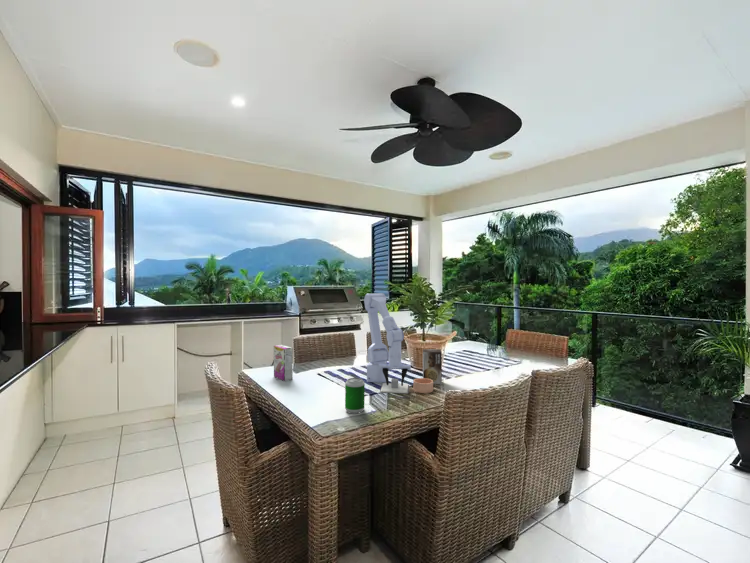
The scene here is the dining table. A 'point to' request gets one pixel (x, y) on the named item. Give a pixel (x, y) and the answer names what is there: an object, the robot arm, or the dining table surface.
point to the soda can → (354, 395)
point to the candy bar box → (283, 362)
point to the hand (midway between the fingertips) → (394, 384)
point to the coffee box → (432, 365)
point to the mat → (390, 392)
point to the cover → (394, 387)
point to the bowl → (423, 385)
